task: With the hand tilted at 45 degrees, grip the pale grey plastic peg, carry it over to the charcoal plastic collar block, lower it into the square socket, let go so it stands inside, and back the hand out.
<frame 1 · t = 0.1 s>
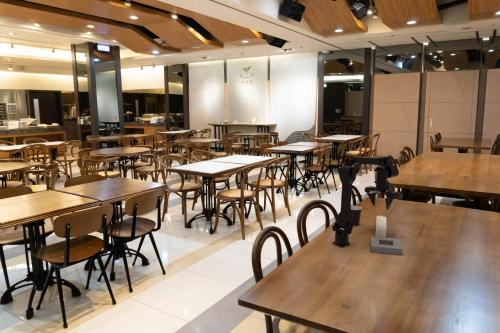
hand: (380, 207, 202), 15 cm above the table, tool pointing down, fingers open, 9 cm apart
coffee mug: (354, 223, 222), on the table
collar block: (385, 248, 184), on the table
peg: (380, 239, 196), on the table
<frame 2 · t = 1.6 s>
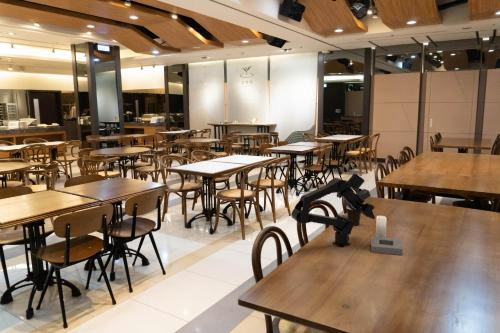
hand: (369, 215, 192), 13 cm above the table, tool tilted 45°, fingers open, 9 cm apart
nothing on the table moved.
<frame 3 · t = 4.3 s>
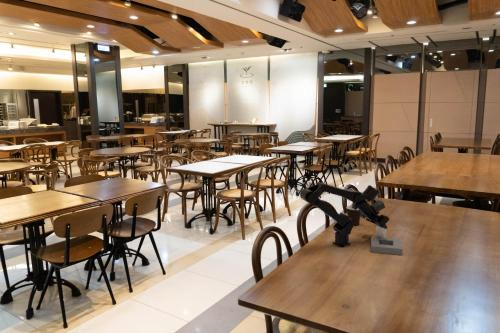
hand: (383, 226, 196), 7 cm above the table, tool tilted 45°, fingers closed on peg, 5 cm apart
peg: (380, 239, 196), on the table, touching gripper
everything else where it was.
when the fingers open (7 cm above the table, at t = 8.0 s): peg stays where it is, resting in collar block.
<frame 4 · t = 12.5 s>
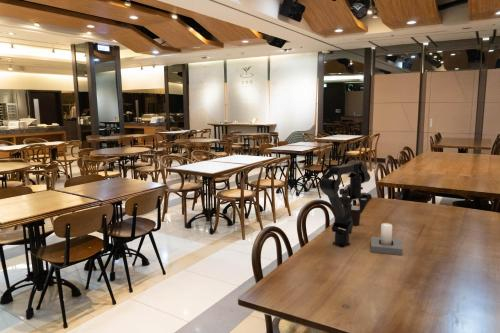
hand: (354, 214, 197), 13 cm above the table, tool pointing down, fingers open, 9 cm apart
peg: (385, 248, 184), resting in collar block
everything else where it was.
at the end: peg 0.0 cm off-centre on the collar block, point 0.0 cm above the collar block's base; peg tilted 0°; the gripper is holding nothing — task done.
